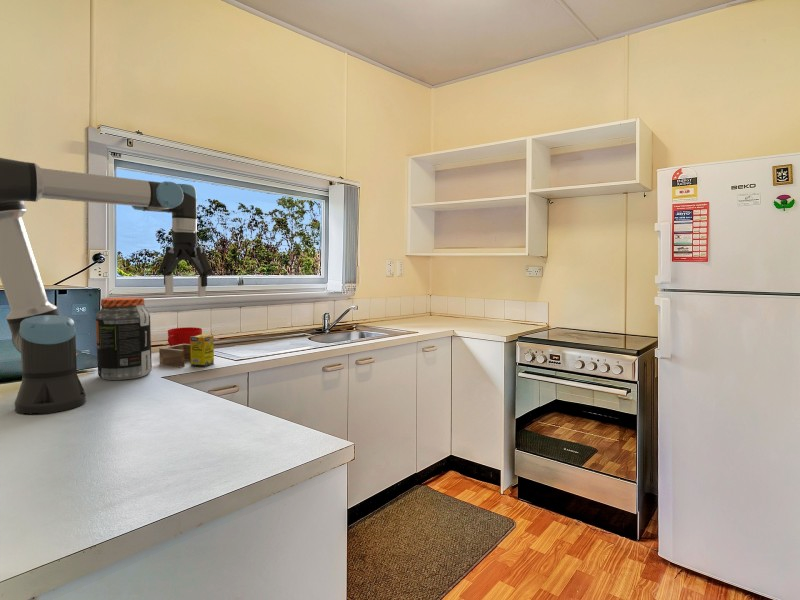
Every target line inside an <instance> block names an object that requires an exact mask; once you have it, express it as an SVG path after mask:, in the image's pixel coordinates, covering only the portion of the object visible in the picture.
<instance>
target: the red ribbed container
mask: <svg viewBox="0 0 800 600" xmlns="http://www.w3.org/2000/svg"><path fill="white" fill-rule="evenodd" d="M197 335H203V329H202V328H201V327H192V326H191V327H175V328H170V329H168V330H167V344H168V345H169V346H174V345H179V344H191V342H190V337H193V336H197Z"/></svg>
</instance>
